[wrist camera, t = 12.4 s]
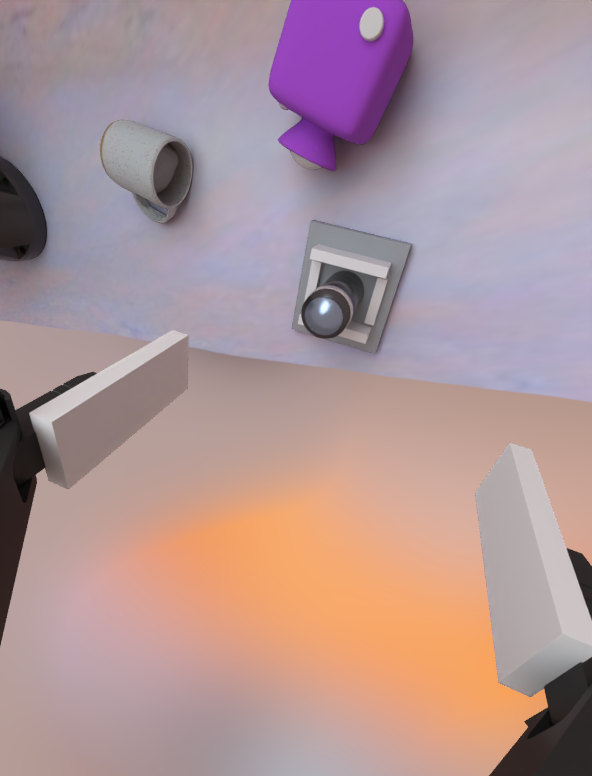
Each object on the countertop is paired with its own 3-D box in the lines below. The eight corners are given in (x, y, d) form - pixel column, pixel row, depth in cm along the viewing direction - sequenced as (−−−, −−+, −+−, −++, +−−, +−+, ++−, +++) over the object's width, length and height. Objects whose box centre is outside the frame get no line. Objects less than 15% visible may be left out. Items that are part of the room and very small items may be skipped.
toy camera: (283, 159, 42) (246, 154, 33) (313, -8, 34) (275, -67, 26) (372, 185, 40) (356, 187, 32) (425, 17, 33) (421, -37, 24)
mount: (294, 325, 51) (284, 336, 48) (313, 220, 44) (303, 223, 40) (376, 350, 49) (371, 363, 46) (411, 243, 42) (409, 249, 38)
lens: (344, 319, 47) (324, 349, 39) (316, 290, 47) (289, 315, 38) (373, 291, 44) (359, 317, 36) (343, 260, 44) (322, 280, 35)
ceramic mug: (138, 119, 45) (89, 111, 38) (196, 140, 44) (156, 136, 37) (137, 209, 51) (95, 215, 45) (188, 230, 50) (152, 239, 44)
